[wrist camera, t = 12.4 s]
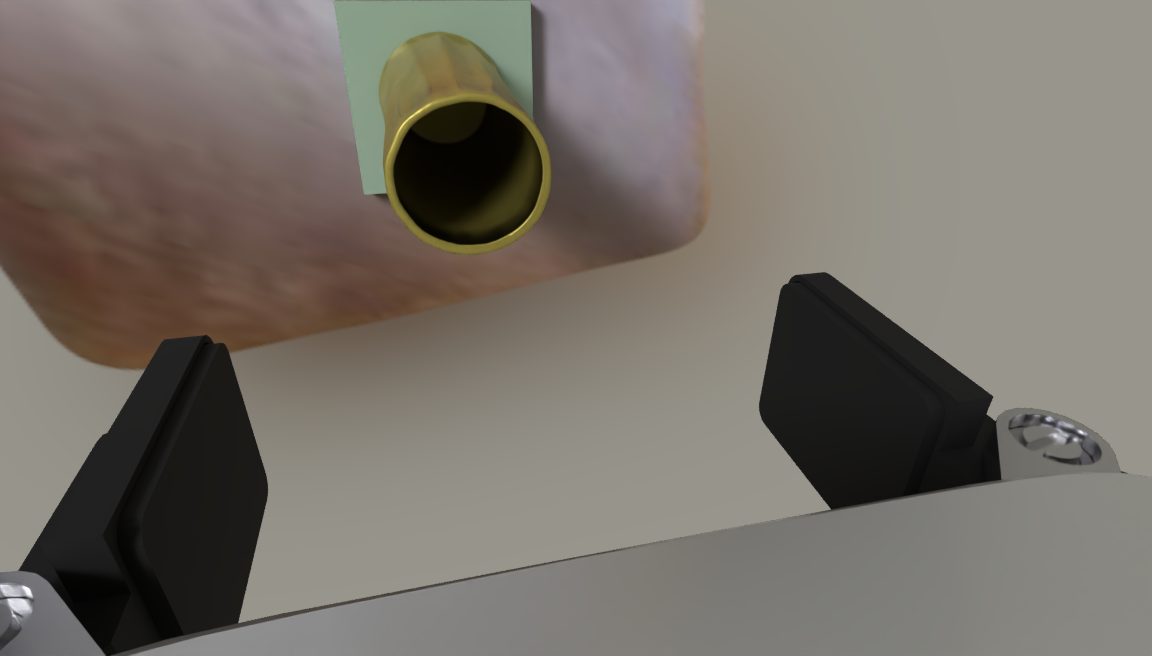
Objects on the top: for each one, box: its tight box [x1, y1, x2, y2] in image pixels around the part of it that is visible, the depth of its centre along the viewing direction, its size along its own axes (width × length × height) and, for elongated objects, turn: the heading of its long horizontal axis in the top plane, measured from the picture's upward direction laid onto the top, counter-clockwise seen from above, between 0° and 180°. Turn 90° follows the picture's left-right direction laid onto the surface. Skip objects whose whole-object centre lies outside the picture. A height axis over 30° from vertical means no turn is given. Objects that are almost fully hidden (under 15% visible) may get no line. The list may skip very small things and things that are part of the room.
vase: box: [378, 31, 551, 255], centre depth 26 cm, size 6×6×14 cm
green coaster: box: [334, 0, 533, 195], centre depth 33 cm, size 9×9×1 cm
